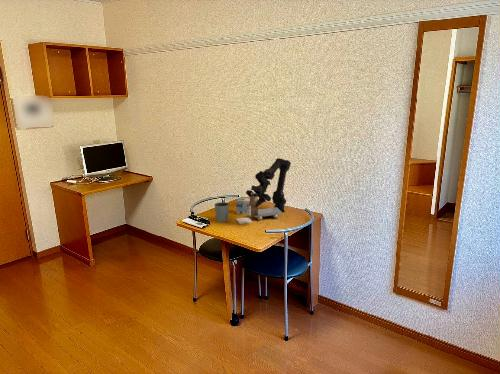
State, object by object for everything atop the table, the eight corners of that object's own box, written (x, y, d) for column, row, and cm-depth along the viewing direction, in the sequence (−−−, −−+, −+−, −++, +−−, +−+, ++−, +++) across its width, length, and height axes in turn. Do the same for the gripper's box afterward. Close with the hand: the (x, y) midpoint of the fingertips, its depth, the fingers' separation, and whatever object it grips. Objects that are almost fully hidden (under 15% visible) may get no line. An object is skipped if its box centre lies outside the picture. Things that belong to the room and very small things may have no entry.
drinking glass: (212, 220, 273) (211, 204, 270) (223, 216, 280) (222, 201, 277) (221, 223, 266) (220, 207, 263) (232, 220, 273) (231, 203, 270)
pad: (248, 218, 275) (248, 217, 275) (252, 222, 266) (252, 221, 266) (236, 220, 272) (236, 218, 272) (239, 224, 264) (239, 222, 264)
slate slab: (276, 213, 284) (276, 207, 283) (281, 218, 274) (281, 211, 272) (250, 216, 279) (250, 210, 277) (254, 221, 268) (254, 214, 267)
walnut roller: (256, 213, 265) (256, 195, 261) (259, 216, 260) (258, 197, 257) (249, 214, 263) (249, 196, 260) (252, 216, 259) (251, 198, 255)
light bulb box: (236, 214, 285) (235, 200, 282) (238, 211, 291) (238, 197, 289) (250, 214, 283) (250, 200, 280) (252, 212, 289) (252, 198, 286)
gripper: (247, 178, 264) (236, 197, 259) (268, 182, 252) (257, 202, 247) (254, 187, 272) (244, 205, 267) (275, 191, 260) (265, 211, 255)
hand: (252, 206), depth 259 cm, fingers closed on walnut roller, 5 cm apart
